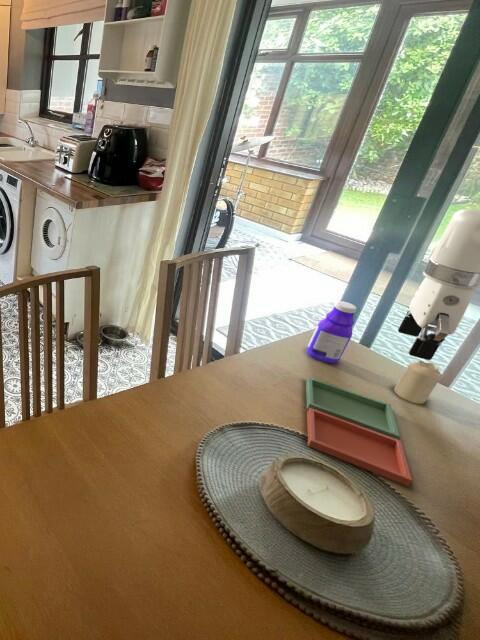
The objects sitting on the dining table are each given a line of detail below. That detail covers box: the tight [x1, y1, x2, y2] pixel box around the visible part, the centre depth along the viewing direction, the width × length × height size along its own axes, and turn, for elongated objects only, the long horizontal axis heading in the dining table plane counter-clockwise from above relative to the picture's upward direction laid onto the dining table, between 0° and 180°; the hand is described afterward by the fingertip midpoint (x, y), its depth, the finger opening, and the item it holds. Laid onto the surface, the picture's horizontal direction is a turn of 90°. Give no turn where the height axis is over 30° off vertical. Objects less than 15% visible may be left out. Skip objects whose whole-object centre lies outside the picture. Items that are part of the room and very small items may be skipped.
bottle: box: [306, 300, 357, 364], centre depth 112 cm, size 7×6×17 cm
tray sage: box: [305, 376, 400, 440], centre depth 97 cm, size 16×12×2 cm
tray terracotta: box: [306, 408, 413, 487], centre depth 87 cm, size 16×12×2 cm
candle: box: [393, 360, 443, 405], centre depth 100 cm, size 6×6×10 cm
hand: (413, 345), depth 87 cm, fingers open, 9 cm apart
